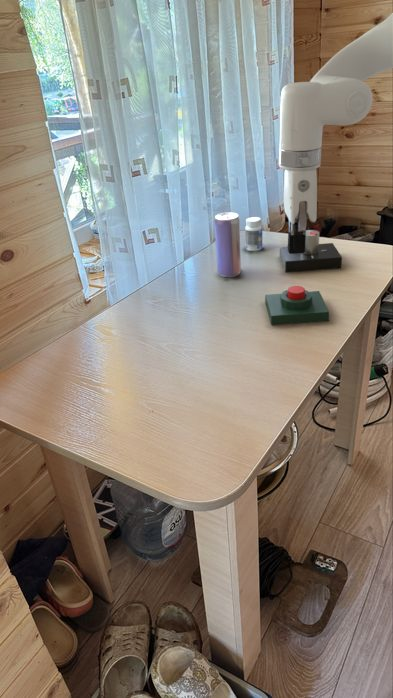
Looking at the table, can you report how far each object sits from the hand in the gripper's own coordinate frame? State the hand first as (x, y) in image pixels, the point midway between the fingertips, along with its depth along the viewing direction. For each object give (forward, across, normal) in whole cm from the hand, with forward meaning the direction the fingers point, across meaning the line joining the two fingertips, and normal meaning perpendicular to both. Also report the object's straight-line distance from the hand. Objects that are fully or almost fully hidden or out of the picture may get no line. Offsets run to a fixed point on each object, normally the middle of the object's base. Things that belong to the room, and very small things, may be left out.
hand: (296, 251), depth 104 cm
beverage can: (+14, +23, +12) cm, 30 cm away
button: (+10, 0, 0) cm, 10 cm away
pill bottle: (+14, +39, +4) cm, 42 cm away
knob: (+11, +26, -8) cm, 30 cm away
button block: (+14, 0, 0) cm, 14 cm away
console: (+14, +26, -8) cm, 31 cm away
